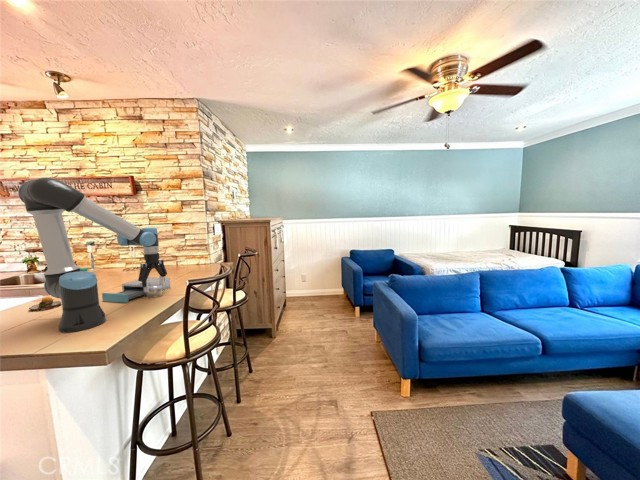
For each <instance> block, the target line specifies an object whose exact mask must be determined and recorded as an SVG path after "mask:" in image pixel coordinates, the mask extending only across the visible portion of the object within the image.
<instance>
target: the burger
mask: <svg viewBox="0 0 640 480" xmlns="http://www.w3.org/2000/svg"><path fill="white" fill-rule="evenodd" d="M50 296H51V295H49V294H48V296H46V297H45V296H44V297H43V298H41V301H40V302H39V303H38V304H34V305H32V306H30V307H29V308H28V309H29V310H30V312H31V313H32V312H34V313H35V312H36V311H38V312H44V311H45V310H46V311H47V310H48V309H49V310H53V309H54V308H59V307H62V301H61V300H59V301H58V300H56V301H55V300H54V299H53V297H50Z"/></svg>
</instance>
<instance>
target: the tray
mask: <svg viewBox="0 0 640 480" xmlns="http://www.w3.org/2000/svg"><path fill="white" fill-rule="evenodd" d="M144 294H145V292H144V289H129V290H125V291H122V290H121V291H120V292H119V291H118V292H116V293H115V292H102V293H101V298H102V302H107V303H108V302H109V303H110V302H111V303H112V302H113V303H123V304H124V303H126V304H127V303H129V300H132V299H135V298H138V297H142V296H141V295H144Z"/></svg>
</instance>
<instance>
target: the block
mask: <svg viewBox="0 0 640 480" xmlns="http://www.w3.org/2000/svg"><path fill="white" fill-rule="evenodd" d="M161 296H163V291H162V289H161V288H160V289H157V290H149V292H148V296H147V297H148V299H149V298H150V299H155V298H158V297H161Z"/></svg>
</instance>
